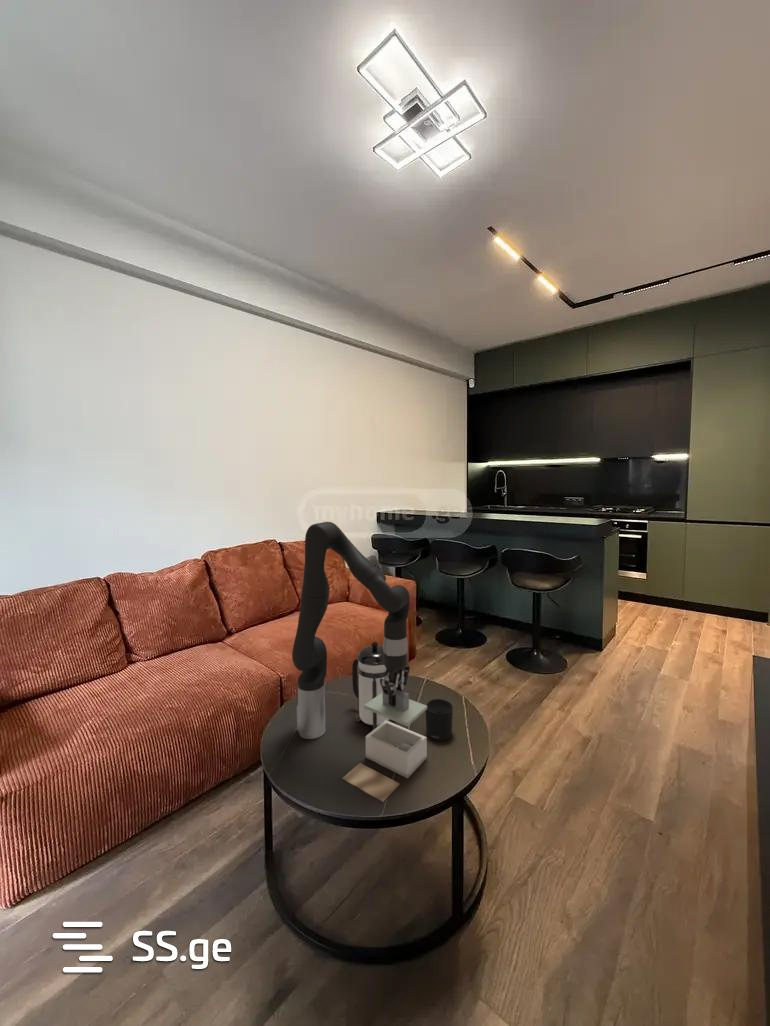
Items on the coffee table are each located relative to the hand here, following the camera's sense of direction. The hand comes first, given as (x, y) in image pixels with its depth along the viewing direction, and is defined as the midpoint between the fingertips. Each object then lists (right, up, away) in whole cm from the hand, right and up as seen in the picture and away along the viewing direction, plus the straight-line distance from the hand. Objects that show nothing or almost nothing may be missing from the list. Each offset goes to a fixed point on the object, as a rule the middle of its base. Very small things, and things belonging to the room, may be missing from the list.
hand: (395, 702), depth 129 cm
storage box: (0, -18, +1) cm, 18 cm away
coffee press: (-8, -17, +22) cm, 29 cm away
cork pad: (-8, -19, -9) cm, 22 cm away
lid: (0, -3, 0) cm, 3 cm away
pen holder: (+16, -17, +14) cm, 27 cm away
